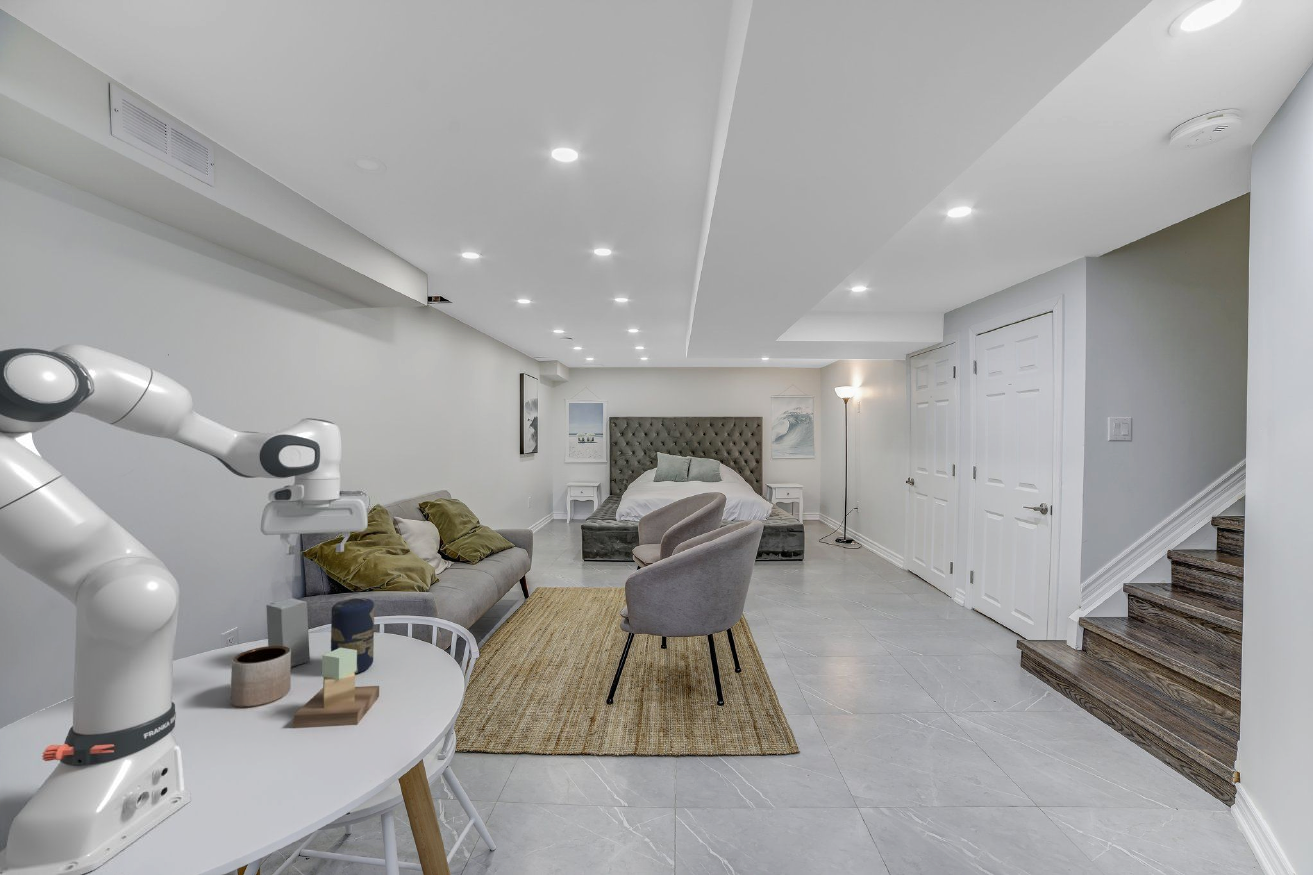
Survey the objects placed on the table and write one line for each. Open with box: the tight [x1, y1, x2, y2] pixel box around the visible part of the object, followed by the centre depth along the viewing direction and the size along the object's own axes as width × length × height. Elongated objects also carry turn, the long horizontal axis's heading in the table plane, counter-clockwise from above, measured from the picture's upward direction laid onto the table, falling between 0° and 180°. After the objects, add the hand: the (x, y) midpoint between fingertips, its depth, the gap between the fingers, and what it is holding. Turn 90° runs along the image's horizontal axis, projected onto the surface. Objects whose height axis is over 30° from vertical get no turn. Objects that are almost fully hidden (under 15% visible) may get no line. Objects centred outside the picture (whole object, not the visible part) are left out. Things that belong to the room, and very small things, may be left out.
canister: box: [330, 597, 375, 674], centre depth 136 cm, size 10×10×18 cm
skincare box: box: [265, 597, 311, 668], centre depth 139 cm, size 8×7×16 cm
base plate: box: [293, 685, 380, 729], centre depth 115 cm, size 12×12×2 cm
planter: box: [229, 645, 292, 708], centre depth 121 cm, size 11×11×10 cm
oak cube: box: [322, 673, 356, 708], centre depth 115 cm, size 6×6×6 cm
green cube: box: [321, 648, 357, 680], centre depth 115 cm, size 4×4×4 cm
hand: (315, 553), depth 120 cm, fingers open, 8 cm apart
